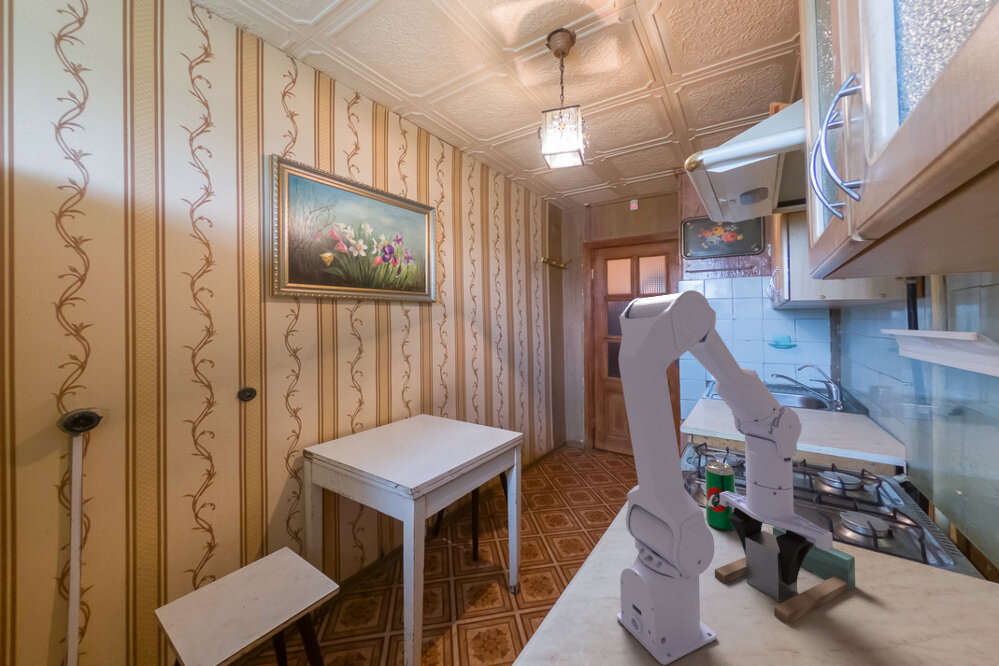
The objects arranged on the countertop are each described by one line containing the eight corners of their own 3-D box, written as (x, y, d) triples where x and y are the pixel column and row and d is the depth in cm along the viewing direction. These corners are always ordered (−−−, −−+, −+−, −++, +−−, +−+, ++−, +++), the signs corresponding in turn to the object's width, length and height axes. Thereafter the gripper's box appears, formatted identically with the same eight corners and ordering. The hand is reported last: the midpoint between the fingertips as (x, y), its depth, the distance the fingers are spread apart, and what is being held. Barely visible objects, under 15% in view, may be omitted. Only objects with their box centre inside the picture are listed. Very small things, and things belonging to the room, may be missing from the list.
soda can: (740, 533, 69) (739, 471, 69) (711, 530, 70) (710, 469, 70) (729, 519, 74) (728, 461, 74) (702, 517, 75) (701, 460, 75)
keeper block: (778, 602, 51) (777, 553, 51) (746, 582, 55) (745, 537, 55) (797, 592, 53) (796, 545, 53) (764, 574, 57) (763, 530, 57)
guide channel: (787, 624, 47) (786, 590, 47) (714, 577, 57) (714, 548, 57) (855, 586, 54) (854, 556, 54) (780, 550, 63) (779, 524, 63)
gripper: (843, 495, 49) (846, 594, 49) (738, 462, 63) (740, 540, 62) (814, 506, 46) (817, 611, 46) (710, 469, 60) (712, 550, 60)
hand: (771, 571), depth 54 cm, fingers closed on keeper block, 4 cm apart
